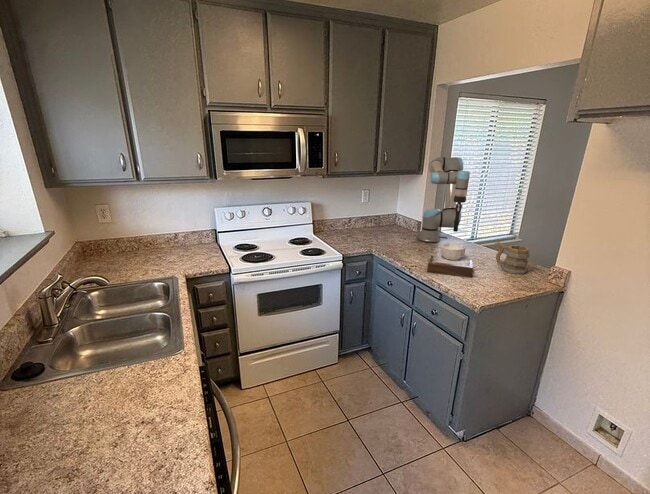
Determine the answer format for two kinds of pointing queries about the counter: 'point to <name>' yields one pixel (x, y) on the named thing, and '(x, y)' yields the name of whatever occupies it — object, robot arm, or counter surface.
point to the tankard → (513, 258)
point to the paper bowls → (452, 251)
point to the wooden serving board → (450, 268)
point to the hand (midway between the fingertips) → (455, 231)
